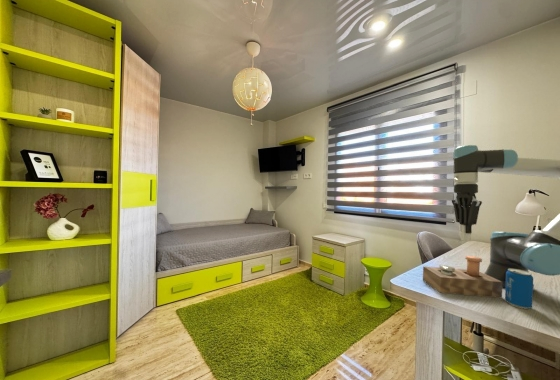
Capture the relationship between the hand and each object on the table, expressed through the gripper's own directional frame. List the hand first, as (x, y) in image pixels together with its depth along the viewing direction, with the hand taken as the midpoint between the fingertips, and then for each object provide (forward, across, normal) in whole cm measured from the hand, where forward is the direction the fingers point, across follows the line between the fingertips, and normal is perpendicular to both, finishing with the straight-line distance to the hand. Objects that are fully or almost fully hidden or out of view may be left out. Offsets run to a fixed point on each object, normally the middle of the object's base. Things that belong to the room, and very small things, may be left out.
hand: (466, 240), depth 88 cm
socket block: (+20, 0, -2) cm, 20 cm away
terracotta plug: (+14, 0, +3) cm, 14 cm away
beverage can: (+20, +11, +9) cm, 25 cm away
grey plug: (+18, 0, -8) cm, 20 cm away
